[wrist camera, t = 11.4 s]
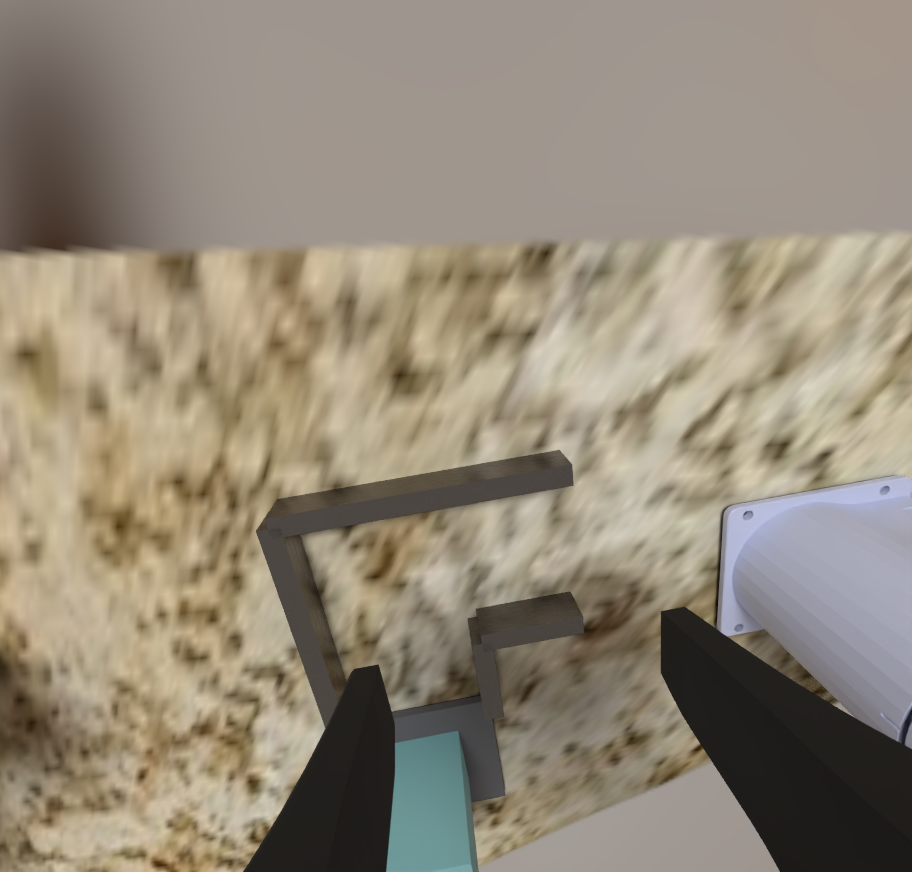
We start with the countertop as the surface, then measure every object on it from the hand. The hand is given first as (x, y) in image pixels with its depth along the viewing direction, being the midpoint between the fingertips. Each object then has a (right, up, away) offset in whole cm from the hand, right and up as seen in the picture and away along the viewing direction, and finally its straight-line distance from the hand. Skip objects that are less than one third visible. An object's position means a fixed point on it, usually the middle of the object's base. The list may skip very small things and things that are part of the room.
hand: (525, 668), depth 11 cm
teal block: (-3, -13, +14) cm, 20 cm away
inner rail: (+2, -5, +13) cm, 14 cm away
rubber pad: (-3, -13, +15) cm, 20 cm away
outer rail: (-3, -2, +11) cm, 12 cm away
